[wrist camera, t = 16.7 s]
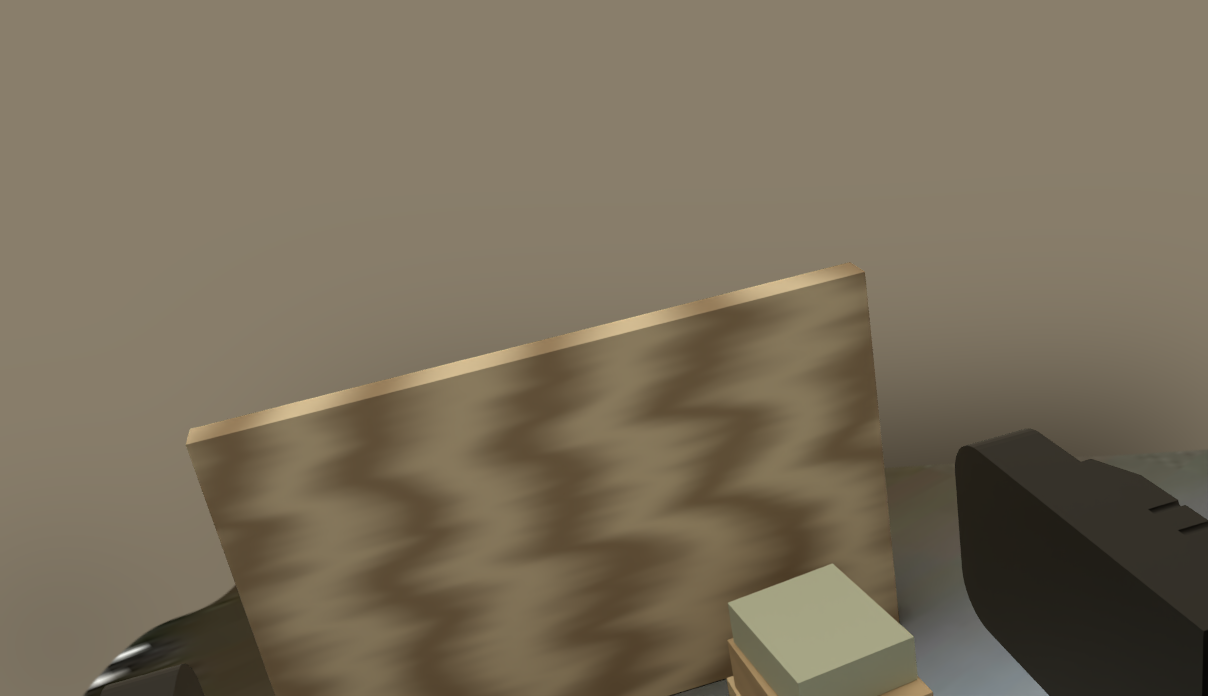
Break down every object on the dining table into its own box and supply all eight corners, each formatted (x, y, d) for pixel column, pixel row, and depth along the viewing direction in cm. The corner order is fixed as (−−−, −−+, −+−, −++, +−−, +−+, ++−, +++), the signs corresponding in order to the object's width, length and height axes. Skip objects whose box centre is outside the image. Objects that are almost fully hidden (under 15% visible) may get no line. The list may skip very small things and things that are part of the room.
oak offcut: (848, 645, 51) (842, 598, 50) (937, 743, 44) (932, 691, 44) (735, 687, 50) (727, 640, 49) (810, 794, 43) (802, 742, 42)
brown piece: (828, 538, 62) (789, 223, 56) (899, 625, 54) (864, 271, 48) (315, 686, 58) (207, 367, 52) (313, 803, 50) (185, 444, 44)
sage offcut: (837, 602, 50) (832, 563, 49) (917, 679, 44) (914, 636, 44) (733, 642, 48) (727, 603, 48) (803, 726, 43) (797, 683, 42)
